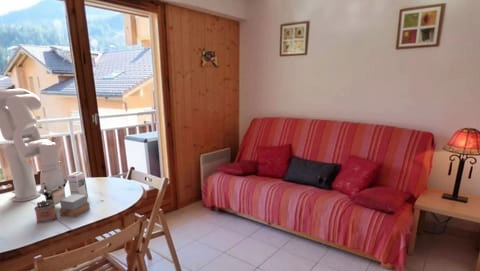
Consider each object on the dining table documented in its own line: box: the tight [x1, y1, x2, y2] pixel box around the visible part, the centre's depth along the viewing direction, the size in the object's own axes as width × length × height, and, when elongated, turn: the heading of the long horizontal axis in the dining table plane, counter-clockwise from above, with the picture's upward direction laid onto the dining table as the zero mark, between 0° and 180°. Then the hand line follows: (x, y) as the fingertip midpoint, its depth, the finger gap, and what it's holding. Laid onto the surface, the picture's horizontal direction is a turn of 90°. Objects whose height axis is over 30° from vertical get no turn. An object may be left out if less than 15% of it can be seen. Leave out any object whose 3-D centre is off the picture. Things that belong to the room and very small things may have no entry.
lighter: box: [34, 200, 58, 225], centre depth 131 cm, size 8×3×10 cm, turn 114°
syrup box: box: [67, 171, 89, 198], centre depth 154 cm, size 6×6×14 cm
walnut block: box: [58, 201, 91, 218], centre depth 139 cm, size 9×9×4 cm
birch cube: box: [44, 188, 66, 206], centre depth 144 cm, size 6×6×6 cm
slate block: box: [59, 194, 88, 210], centre depth 138 cm, size 8×8×4 cm
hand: (56, 199), depth 144 cm, fingers closed on birch cube, 6 cm apart
